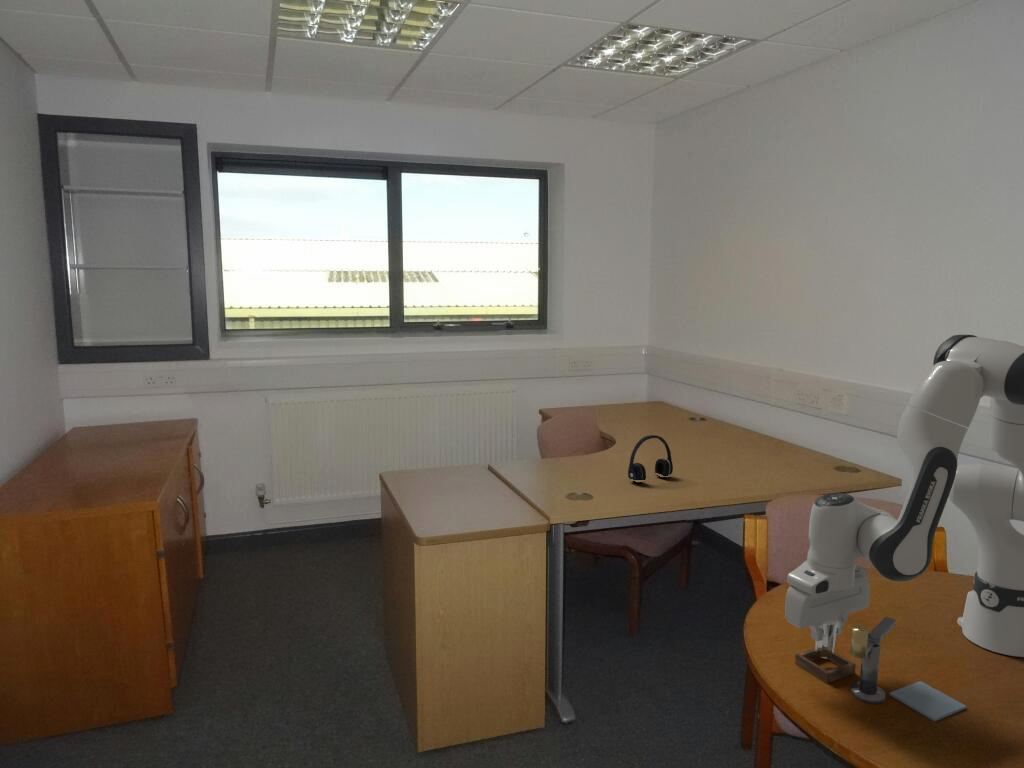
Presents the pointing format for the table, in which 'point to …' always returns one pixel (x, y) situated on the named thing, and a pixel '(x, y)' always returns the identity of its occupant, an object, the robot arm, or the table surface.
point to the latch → (869, 637)
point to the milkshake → (827, 638)
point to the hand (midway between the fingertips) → (826, 636)
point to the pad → (927, 701)
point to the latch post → (869, 679)
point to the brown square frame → (827, 676)
